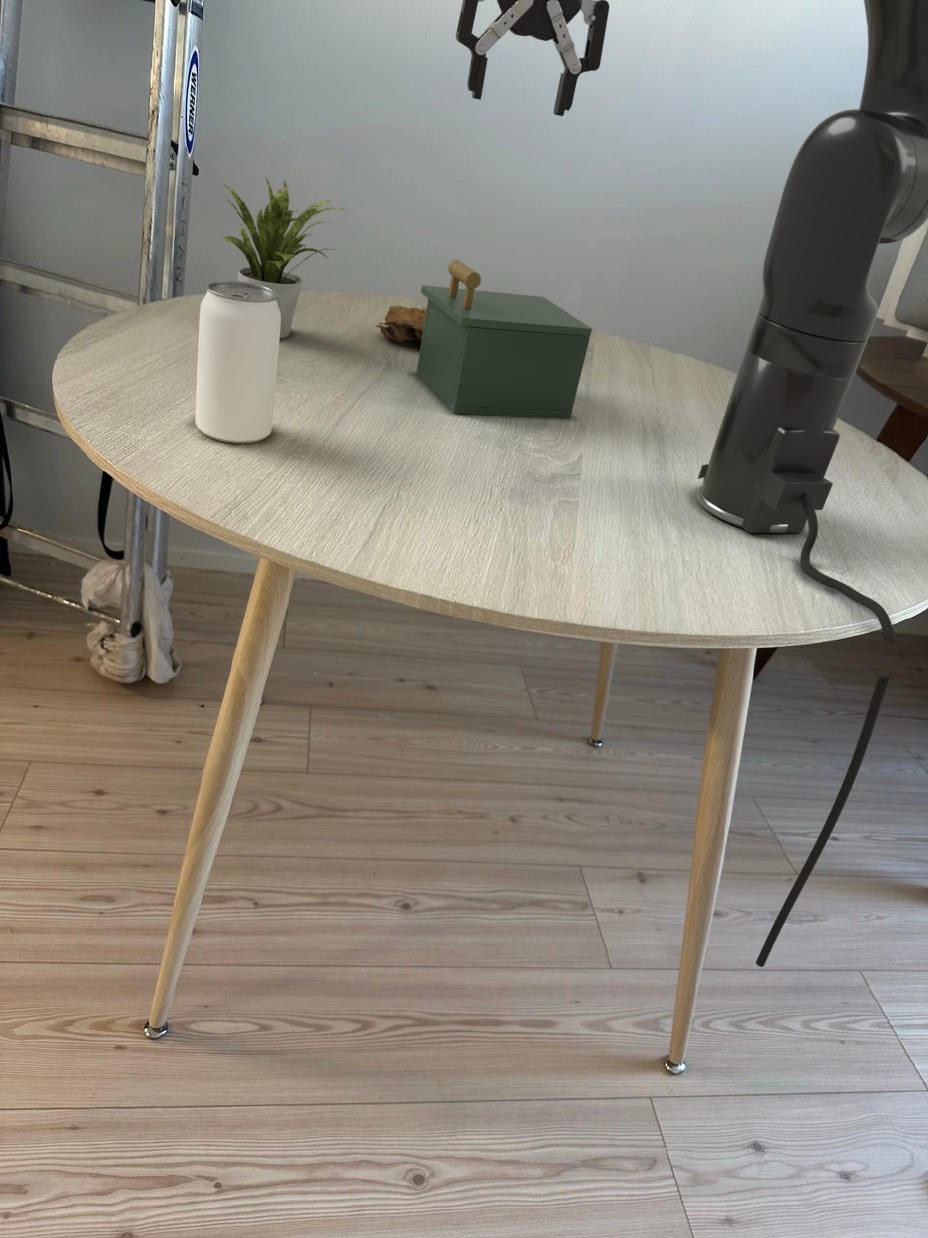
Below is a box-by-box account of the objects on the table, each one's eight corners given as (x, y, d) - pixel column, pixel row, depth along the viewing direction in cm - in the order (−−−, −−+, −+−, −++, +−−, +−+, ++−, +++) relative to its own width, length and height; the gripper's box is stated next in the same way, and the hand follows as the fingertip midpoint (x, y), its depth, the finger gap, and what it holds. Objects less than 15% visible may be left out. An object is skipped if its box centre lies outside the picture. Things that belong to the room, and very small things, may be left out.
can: (279, 425, 88) (291, 290, 82) (259, 450, 83) (271, 306, 77) (208, 411, 88) (215, 274, 82) (184, 435, 83) (189, 290, 77)
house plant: (356, 356, 110) (375, 201, 102) (235, 354, 103) (246, 188, 95) (307, 317, 120) (322, 174, 112) (195, 313, 113) (201, 159, 105)
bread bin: (453, 413, 100) (469, 327, 95) (415, 374, 109) (428, 293, 104) (570, 418, 105) (590, 336, 101) (525, 380, 114) (542, 304, 110)
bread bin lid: (460, 326, 95) (469, 279, 93) (420, 292, 104) (427, 249, 102) (590, 336, 101) (601, 292, 99) (542, 303, 110) (550, 263, 107)
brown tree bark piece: (407, 363, 113) (507, 364, 122) (414, 328, 111) (516, 332, 120) (357, 326, 120) (456, 330, 129) (364, 292, 118) (463, 299, 127)
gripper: (483, -110, 87) (451, 96, 95) (636, -74, 89) (593, 123, 97) (473, -101, 93) (444, 90, 101) (616, -68, 96) (577, 117, 104)
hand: (517, 106), depth 99 cm, fingers open, 8 cm apart
